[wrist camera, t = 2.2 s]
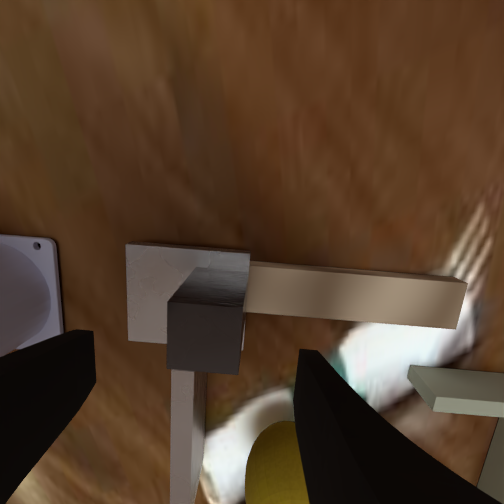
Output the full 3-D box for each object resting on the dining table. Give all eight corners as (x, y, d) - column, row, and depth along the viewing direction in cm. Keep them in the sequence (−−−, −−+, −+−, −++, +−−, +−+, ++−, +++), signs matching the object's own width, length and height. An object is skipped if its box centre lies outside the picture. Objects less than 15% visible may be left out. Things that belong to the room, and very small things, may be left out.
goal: (347, 497, 22) (365, 562, 18) (373, 362, 20) (401, 405, 16) (482, 509, 22) (530, 579, 18) (528, 375, 19) (595, 422, 15)
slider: (142, 453, 21) (89, 573, 15) (139, 238, 18) (65, 269, 11) (235, 461, 21) (223, 586, 15) (251, 247, 18) (244, 284, 11)
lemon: (326, 453, 21) (363, 606, 14) (253, 460, 22) (249, 612, 14) (319, 391, 20) (354, 519, 12) (242, 399, 21) (231, 528, 13)
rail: (172, 297, 19) (166, 305, 18) (173, 254, 18) (167, 259, 17) (443, 320, 19) (455, 329, 17) (454, 277, 18) (467, 283, 17)
